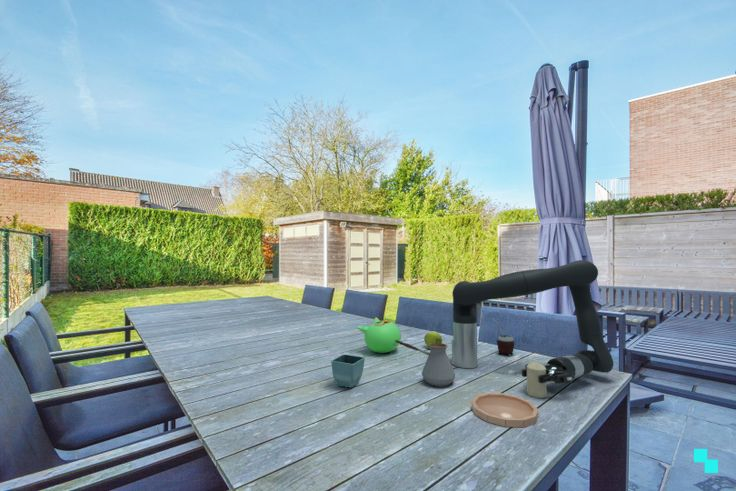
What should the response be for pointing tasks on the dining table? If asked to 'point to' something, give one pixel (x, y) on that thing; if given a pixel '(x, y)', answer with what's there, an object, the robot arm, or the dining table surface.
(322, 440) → the dining table surface
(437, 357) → the coffee pot
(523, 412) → the saucer
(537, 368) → the candle
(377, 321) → the green teapot
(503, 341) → the mate gourd
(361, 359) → the flower pot
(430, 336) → the apple
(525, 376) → the robot arm
